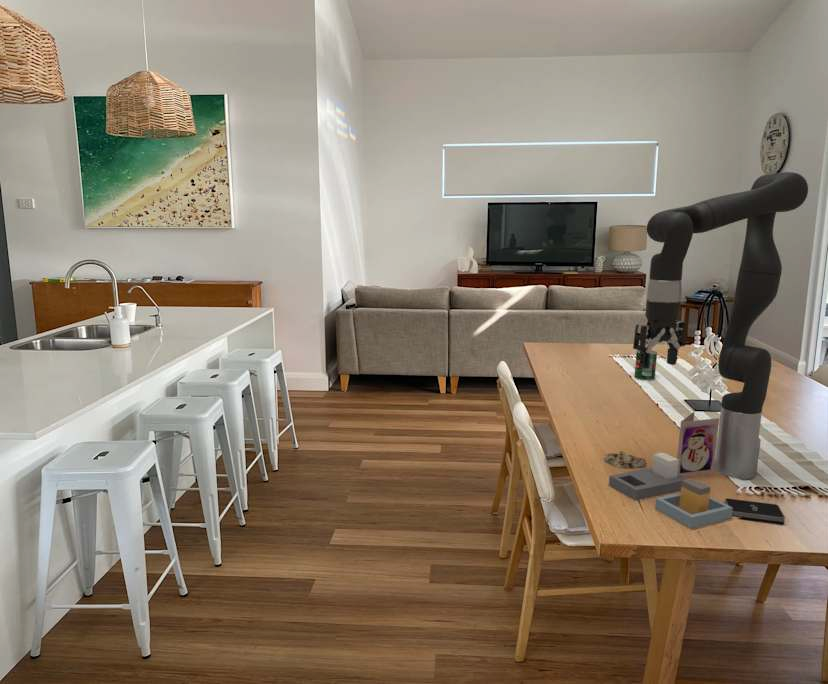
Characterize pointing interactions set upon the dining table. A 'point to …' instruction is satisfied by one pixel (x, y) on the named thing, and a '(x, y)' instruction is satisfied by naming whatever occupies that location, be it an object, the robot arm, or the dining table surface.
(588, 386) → the dining table surface
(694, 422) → the greeting card
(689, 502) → the block
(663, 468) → the block
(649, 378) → the canned tomato
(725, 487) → the dining table surface
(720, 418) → the robot arm
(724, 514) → the parts tray
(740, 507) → the external hard drive
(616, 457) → the mineral rock
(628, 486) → the fuse holder
